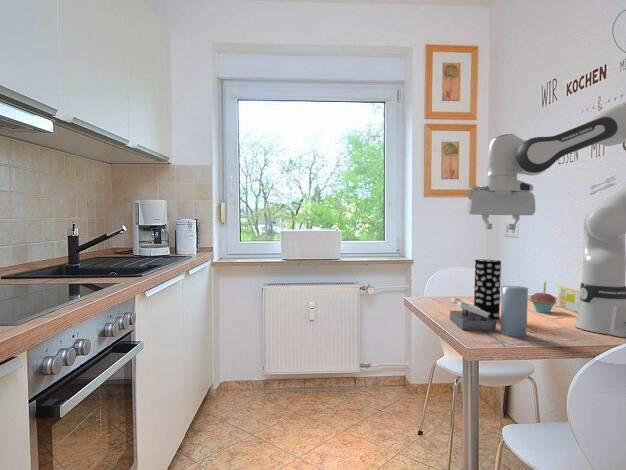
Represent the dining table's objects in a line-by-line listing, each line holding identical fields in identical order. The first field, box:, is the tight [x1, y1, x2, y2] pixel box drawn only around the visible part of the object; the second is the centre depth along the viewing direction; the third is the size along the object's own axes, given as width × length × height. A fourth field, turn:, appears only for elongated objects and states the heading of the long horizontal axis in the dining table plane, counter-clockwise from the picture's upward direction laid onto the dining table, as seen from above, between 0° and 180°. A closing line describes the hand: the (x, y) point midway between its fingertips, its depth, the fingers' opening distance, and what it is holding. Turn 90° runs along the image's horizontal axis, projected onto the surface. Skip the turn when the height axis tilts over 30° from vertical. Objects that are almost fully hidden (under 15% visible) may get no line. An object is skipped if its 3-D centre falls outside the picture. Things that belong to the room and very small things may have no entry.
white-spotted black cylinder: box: [473, 258, 502, 321], centre depth 144 cm, size 8×8×20 cm
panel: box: [449, 308, 497, 332], centre depth 133 cm, size 10×14×5 cm
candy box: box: [556, 286, 581, 314], centre depth 158 cm, size 16×2×8 cm, turn 0°
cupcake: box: [529, 280, 557, 314], centre depth 155 cm, size 9×8×12 cm
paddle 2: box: [456, 299, 489, 318], centre depth 129 cm, size 9×4×2 cm, turn 86°
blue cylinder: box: [500, 285, 529, 338], centre depth 122 cm, size 7×7×14 cm
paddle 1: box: [449, 296, 481, 310], centre depth 136 cm, size 9×4×2 cm, turn 86°
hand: (500, 229), depth 132 cm, fingers open, 6 cm apart
